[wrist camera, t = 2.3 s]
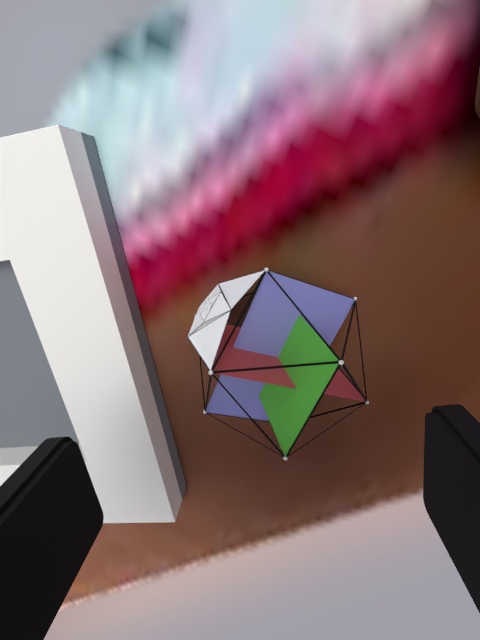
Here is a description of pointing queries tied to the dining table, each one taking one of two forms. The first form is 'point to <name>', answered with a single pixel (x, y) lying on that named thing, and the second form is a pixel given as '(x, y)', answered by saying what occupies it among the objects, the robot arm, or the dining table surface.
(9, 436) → the square picture frame
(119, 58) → the dining table surface
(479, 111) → the stone weight
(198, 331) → the geometric puzzle
